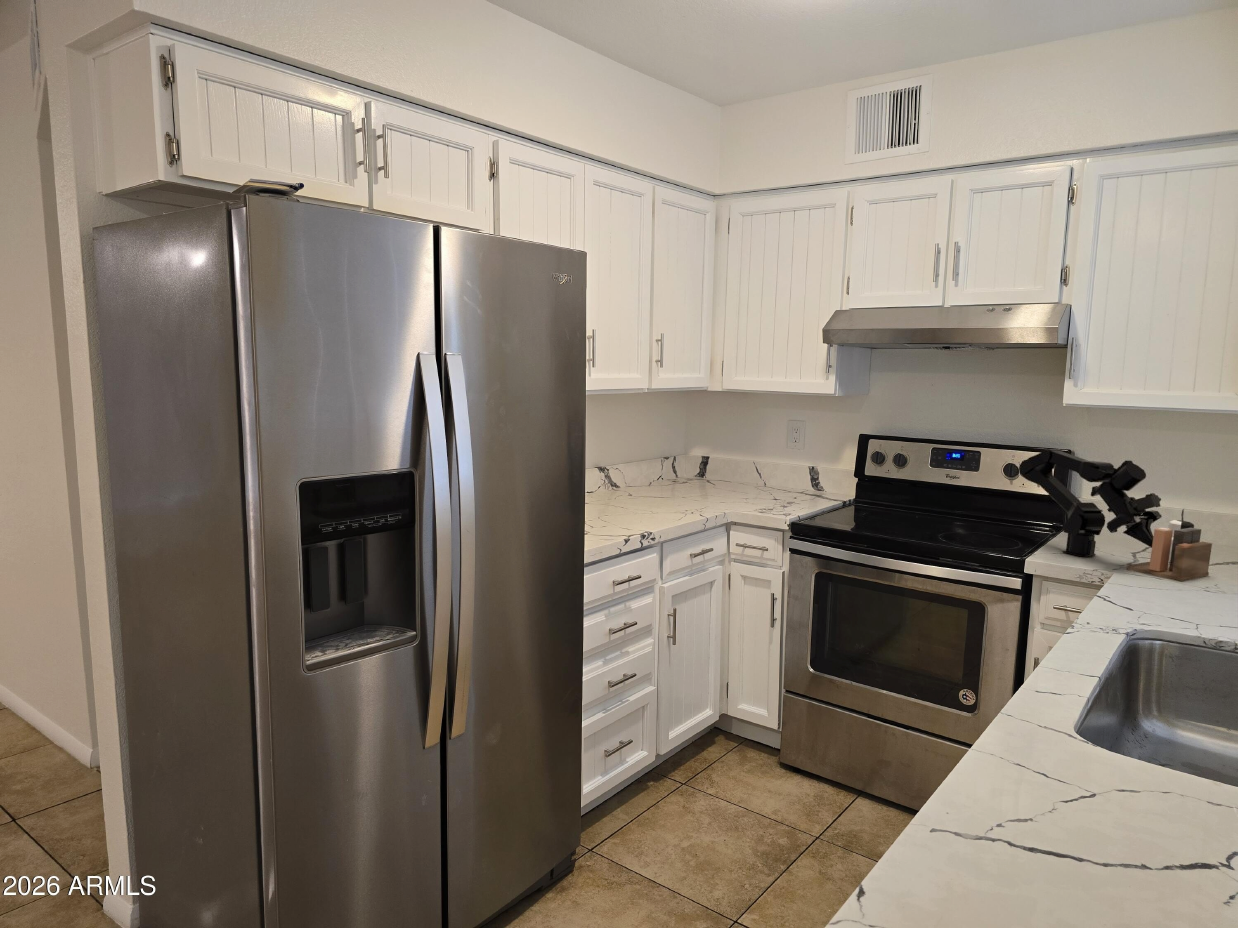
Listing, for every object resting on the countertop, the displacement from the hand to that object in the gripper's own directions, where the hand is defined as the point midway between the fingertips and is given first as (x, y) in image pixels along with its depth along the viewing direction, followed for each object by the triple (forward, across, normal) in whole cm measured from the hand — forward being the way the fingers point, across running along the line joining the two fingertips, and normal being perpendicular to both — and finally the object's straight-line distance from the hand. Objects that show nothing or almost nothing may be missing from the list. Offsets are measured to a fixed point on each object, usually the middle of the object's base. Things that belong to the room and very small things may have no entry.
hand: (1154, 547), depth 220 cm
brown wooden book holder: (+6, +5, +4) cm, 9 cm away
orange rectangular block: (+5, 0, +3) cm, 6 cm away
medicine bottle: (+2, +24, +8) cm, 25 cm away
